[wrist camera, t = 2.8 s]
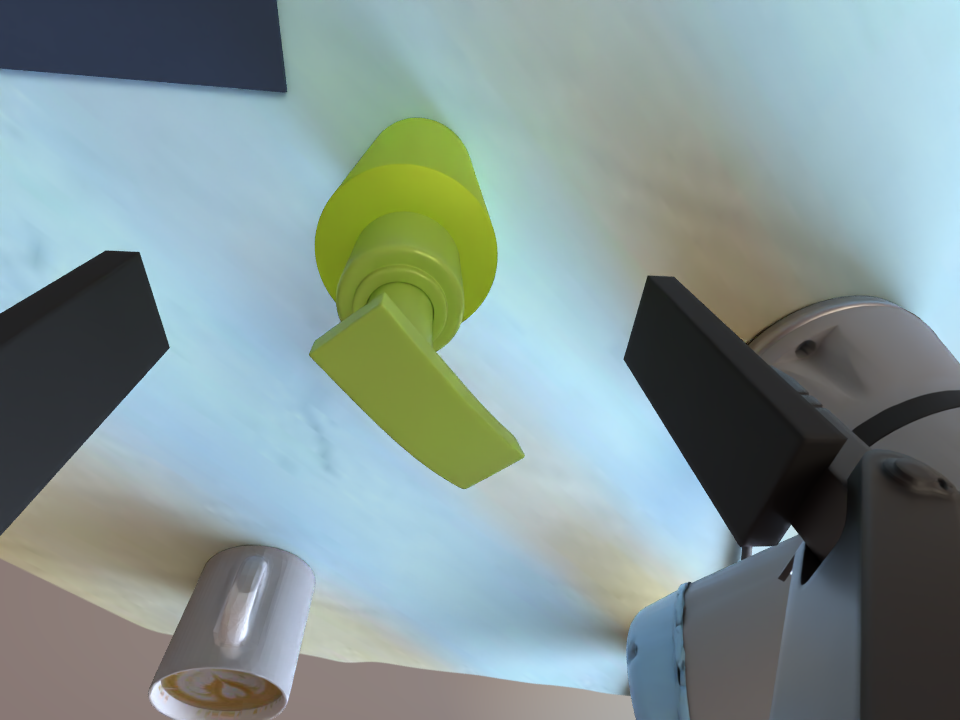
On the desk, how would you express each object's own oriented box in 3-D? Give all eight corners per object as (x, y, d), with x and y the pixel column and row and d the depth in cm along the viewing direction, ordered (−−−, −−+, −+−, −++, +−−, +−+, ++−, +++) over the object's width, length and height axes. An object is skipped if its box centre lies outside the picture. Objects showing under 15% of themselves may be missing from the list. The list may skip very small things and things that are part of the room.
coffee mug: (296, 617, 48) (266, 735, 40) (192, 595, 45) (136, 719, 37) (343, 539, 42) (320, 658, 34) (228, 508, 39) (171, 631, 31)
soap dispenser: (422, 261, 29) (402, 539, 12) (343, 162, 26) (166, 358, 9) (502, 204, 28) (604, 432, 11) (429, 92, 24) (413, 166, 7)
